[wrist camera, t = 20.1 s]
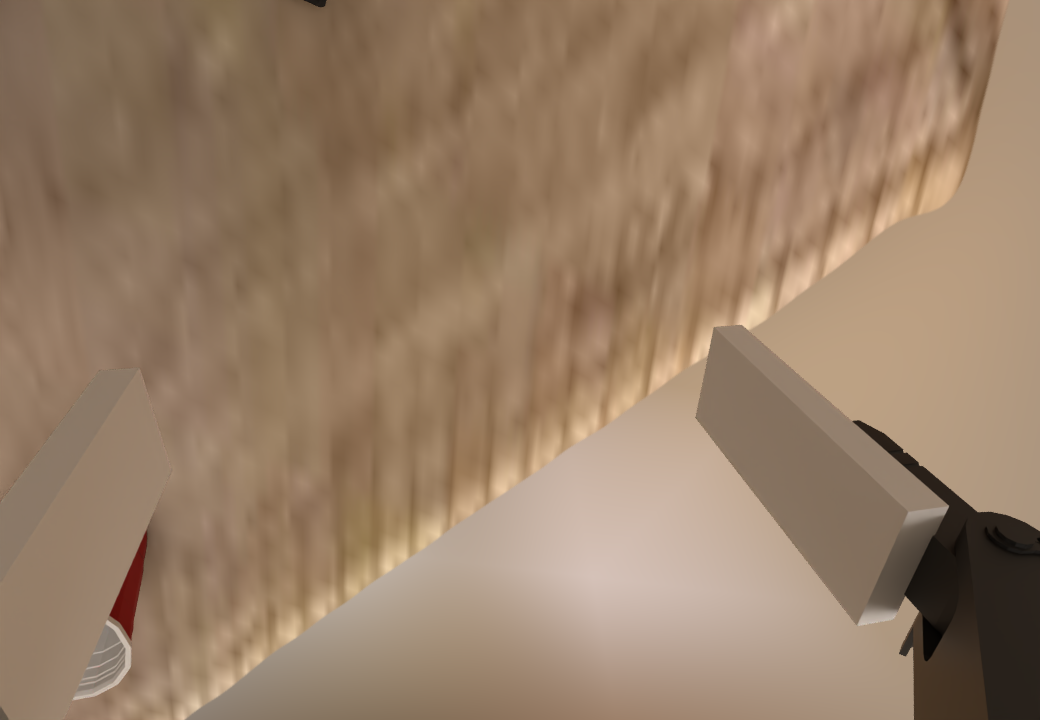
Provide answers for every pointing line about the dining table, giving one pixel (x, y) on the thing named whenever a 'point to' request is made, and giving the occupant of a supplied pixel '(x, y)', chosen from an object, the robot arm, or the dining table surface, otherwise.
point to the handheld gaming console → (317, 2)
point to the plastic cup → (115, 635)
